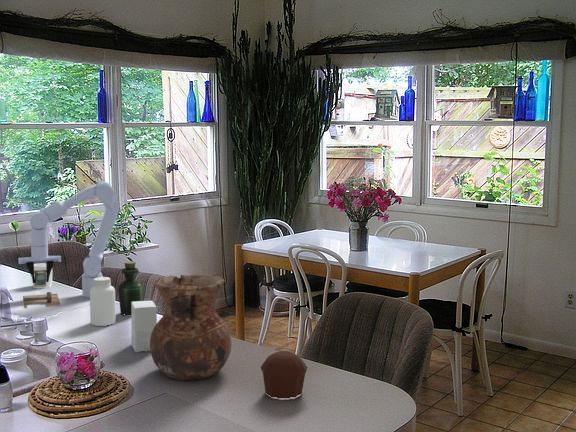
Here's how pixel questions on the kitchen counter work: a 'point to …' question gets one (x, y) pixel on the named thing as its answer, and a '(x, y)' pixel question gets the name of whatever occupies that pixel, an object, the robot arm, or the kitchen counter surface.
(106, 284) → the pill bottle
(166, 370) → the jug
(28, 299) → the hook board
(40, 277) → the spool
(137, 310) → the small box
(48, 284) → the white cup
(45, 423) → the kitchen counter surface
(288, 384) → the muffin
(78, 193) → the robot arm
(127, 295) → the potion bottle
